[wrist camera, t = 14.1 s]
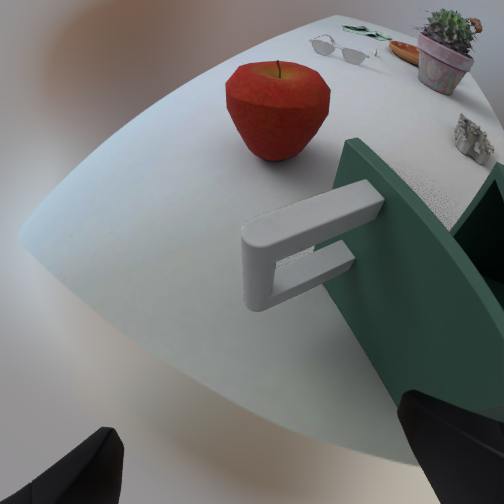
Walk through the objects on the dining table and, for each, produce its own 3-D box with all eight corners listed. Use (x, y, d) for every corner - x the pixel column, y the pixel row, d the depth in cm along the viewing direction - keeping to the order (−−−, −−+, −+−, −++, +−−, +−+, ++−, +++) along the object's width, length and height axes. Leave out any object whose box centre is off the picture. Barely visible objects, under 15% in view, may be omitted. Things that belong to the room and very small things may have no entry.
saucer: (374, 48, 68) (376, 38, 65) (407, 49, 75) (409, 42, 72) (434, 78, 58) (437, 68, 55) (458, 78, 65) (461, 69, 61)
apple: (287, 199, 29) (301, 91, 19) (209, 159, 32) (198, 65, 22) (334, 150, 34) (352, 64, 24) (264, 121, 37) (266, 41, 27)
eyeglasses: (307, 51, 58) (308, 37, 55) (330, 41, 66) (331, 30, 63) (366, 68, 54) (369, 54, 50) (379, 56, 62) (381, 45, 59)
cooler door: (325, 475, 15) (415, 526, 4) (230, 296, 23) (213, 174, 12) (414, 415, 17) (538, 382, 6) (318, 258, 25) (358, 136, 14)
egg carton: (485, 170, 35) (495, 153, 31) (451, 147, 37) (460, 128, 34) (484, 145, 39) (492, 129, 36) (454, 125, 42) (461, 109, 38)
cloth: (397, 41, 82) (398, 36, 80) (372, 40, 75) (373, 34, 73) (358, 26, 91) (358, 21, 89) (328, 25, 84) (329, 20, 82)
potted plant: (392, 62, 60) (407, -11, 39) (450, 84, 58) (470, 16, 37) (406, 85, 50) (428, -7, 29) (472, 112, 48) (501, 31, 27)
